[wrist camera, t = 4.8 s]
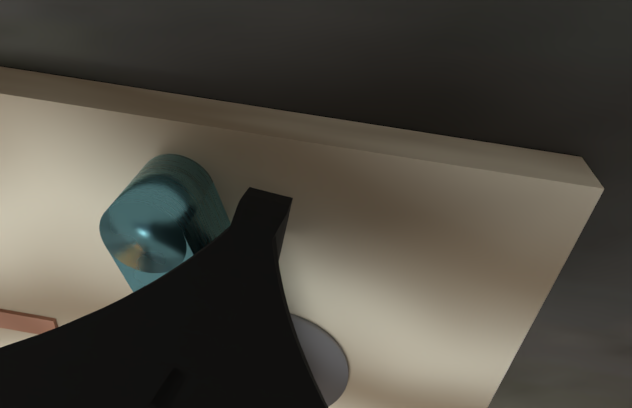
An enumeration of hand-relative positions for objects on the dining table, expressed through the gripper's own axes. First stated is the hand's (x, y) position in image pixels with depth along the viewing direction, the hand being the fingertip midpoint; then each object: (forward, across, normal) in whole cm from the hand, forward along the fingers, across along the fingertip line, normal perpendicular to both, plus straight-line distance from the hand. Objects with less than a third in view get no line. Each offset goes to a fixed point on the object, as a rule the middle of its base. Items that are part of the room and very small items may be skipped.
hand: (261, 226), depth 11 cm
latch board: (+2, +1, +6) cm, 7 cm away
